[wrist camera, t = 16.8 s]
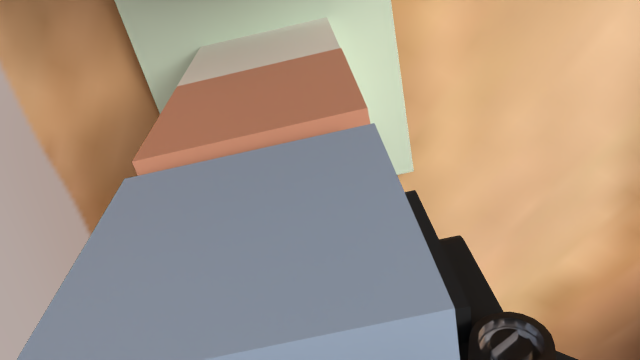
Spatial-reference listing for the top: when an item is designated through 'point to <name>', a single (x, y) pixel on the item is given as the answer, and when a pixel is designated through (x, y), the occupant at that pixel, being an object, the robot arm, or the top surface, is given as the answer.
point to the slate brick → (257, 264)
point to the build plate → (268, 14)
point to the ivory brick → (261, 50)
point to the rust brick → (254, 111)
